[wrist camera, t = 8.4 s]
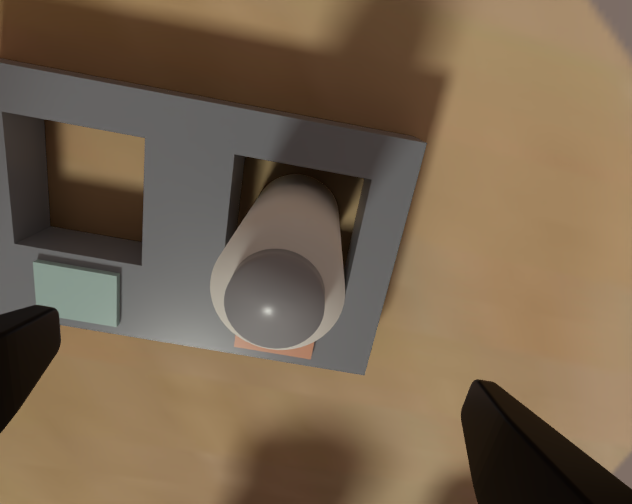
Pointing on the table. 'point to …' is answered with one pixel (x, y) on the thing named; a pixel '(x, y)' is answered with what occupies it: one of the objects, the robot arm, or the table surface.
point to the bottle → (283, 267)
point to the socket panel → (185, 211)
